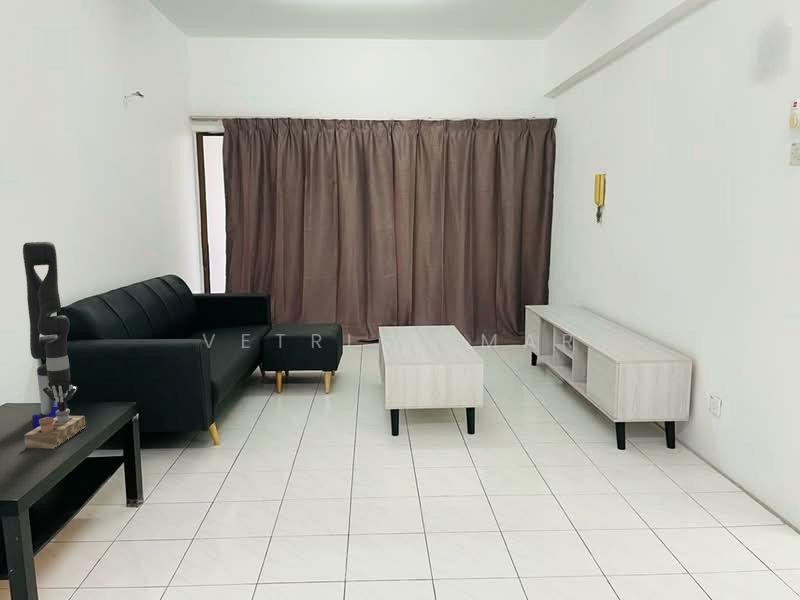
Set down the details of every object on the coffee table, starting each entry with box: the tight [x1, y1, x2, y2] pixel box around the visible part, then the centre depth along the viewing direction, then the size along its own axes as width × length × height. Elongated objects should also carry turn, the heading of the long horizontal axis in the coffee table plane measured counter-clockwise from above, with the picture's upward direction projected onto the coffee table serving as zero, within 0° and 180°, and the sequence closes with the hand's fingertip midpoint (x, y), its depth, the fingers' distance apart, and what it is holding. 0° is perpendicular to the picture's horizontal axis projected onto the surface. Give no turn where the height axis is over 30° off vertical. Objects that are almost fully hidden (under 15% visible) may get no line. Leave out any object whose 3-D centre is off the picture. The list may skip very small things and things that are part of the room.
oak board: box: [23, 415, 87, 449], centre depth 227 cm, size 20×11×5 cm, turn 177°
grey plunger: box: [56, 408, 71, 423], centre depth 232 cm, size 5×5×8 cm
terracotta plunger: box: [39, 416, 54, 433], centre depth 222 cm, size 5×5×8 cm
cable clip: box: [31, 406, 58, 430], centre depth 241 cm, size 12×4×6 cm, turn 172°
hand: (62, 410), depth 231 cm, fingers closed
